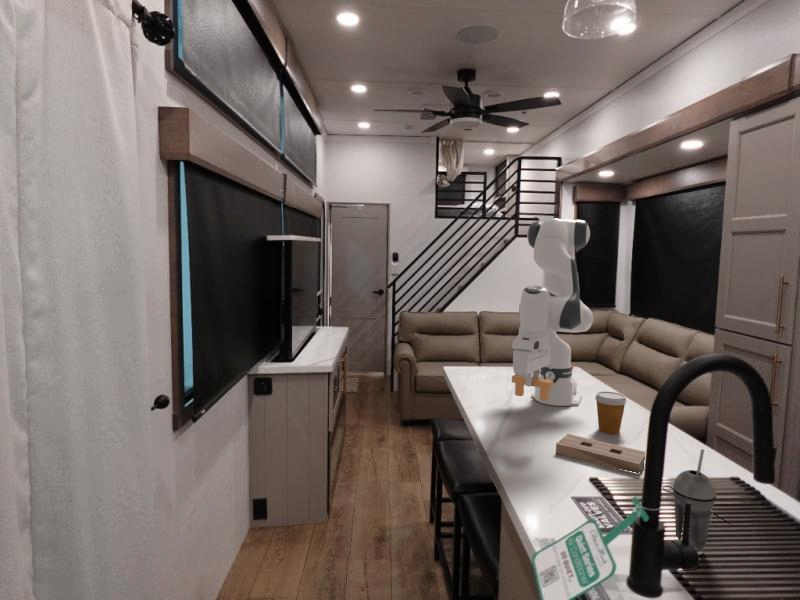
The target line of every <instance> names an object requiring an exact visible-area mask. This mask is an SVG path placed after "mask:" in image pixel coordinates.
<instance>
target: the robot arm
mask: <svg viewBox="0 0 800 600" xmlns="http://www.w3.org/2000/svg"><path fill="white" fill-rule="evenodd" d="M526 233H527V238H526V239H527V242H528V245H529V246H530V247H531V248H532V249H533V260H534V262H535V264H536V265H537V266H538V267H539V268H540V269H541V270H542V271H544V286H540V285H539V286H538V285H533V286H527V287H525V288H523V289H522V292H521V295H520V296H521V297H520V301H519V302H520V303H519V308H518V312H519V313H518V317H519V319H520V323H519V324H520V325H519V328H518V334H517V336H516V338H515V339H513V341H512V344H511V347H512V349H514V350H513V354H512V369H513V373H514V375H520V376H524V377H525V380H526V382H525V385H524V386H526V387H529V388H530V387H533V386H532V385H533V380H532V377H534V378H540V379H546V380H552V381H553V387H552V388H551V389H549V400H547V401H542V400H540V388H539V387H534V393H531V394H530V396H531V398H532V399H535V401H536V402H539V403H541V404H544V405H548V406H556V407H557V406H558V407H564V406H565V407H566V406H579V405H580V403H581V401H582V398H583V394H582V393H579V392H577V391H578V390H577V388H578V387H577V386H578V385H577V382H576V380H575V379H574V378H573V370H574V365H572V362H571V361H572V349H571V346H570V345H569V343H567V342H566V341H565V340H563V339H561V338H560V337H559V336H558V334H557V332H561V333H562V332H563V333H575V334H576V333H582V332H583V333H584V332H587V331H588V330H589V329H590V328H591V327H592V325H593V322H594V316H593V312H592V310H591V309H590V308H589V307H588V306H587V305H586V304H585V303H583V301H582V300H581V294H580V282H579V272H578V266H577V261H576V256H575V252H576V253H577V252H579V251H580V250H581V249H583V248H585V246H587V245H588V242H589V241H590V236H591V230H590V227H589V224H588V222H587V221H586V220H582V219H563V218H562V219H560V218H557V217H555V218H553V217H552V218H548V219H546V220H543V221H542V220H538V221H537V220H536V221H533V222H532V223H530V225H529V227H528V230H527V232H526ZM550 293H551V294H553V296H550Z"/></svg>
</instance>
